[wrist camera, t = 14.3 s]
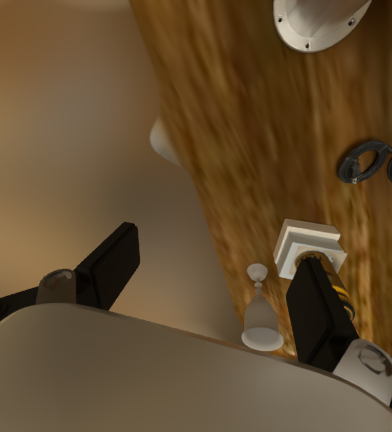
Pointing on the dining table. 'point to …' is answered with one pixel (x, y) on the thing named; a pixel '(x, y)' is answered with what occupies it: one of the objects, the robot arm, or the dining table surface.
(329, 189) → the dining table surface
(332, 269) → the condiment
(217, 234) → the dining table surface
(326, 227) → the tower base
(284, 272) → the tower top
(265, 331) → the chalice
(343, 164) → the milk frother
